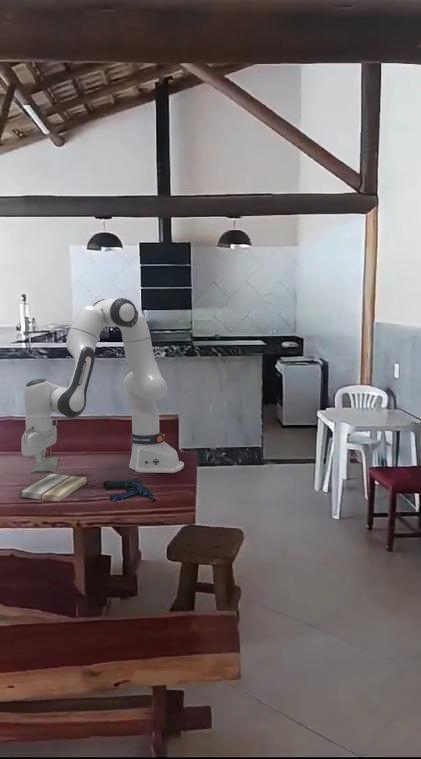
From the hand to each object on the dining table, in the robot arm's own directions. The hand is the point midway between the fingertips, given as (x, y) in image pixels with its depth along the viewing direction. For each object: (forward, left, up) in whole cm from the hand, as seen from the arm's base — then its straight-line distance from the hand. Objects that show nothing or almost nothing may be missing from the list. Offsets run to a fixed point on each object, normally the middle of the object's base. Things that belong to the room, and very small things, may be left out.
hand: (40, 461), depth 234 cm
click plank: (-2, 0, -10) cm, 10 cm away
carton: (+22, -42, -10) cm, 49 cm away
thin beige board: (-9, 0, -10) cm, 14 cm away
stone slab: (+13, -29, -11) cm, 33 cm away
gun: (-32, -2, -11) cm, 34 cm away
